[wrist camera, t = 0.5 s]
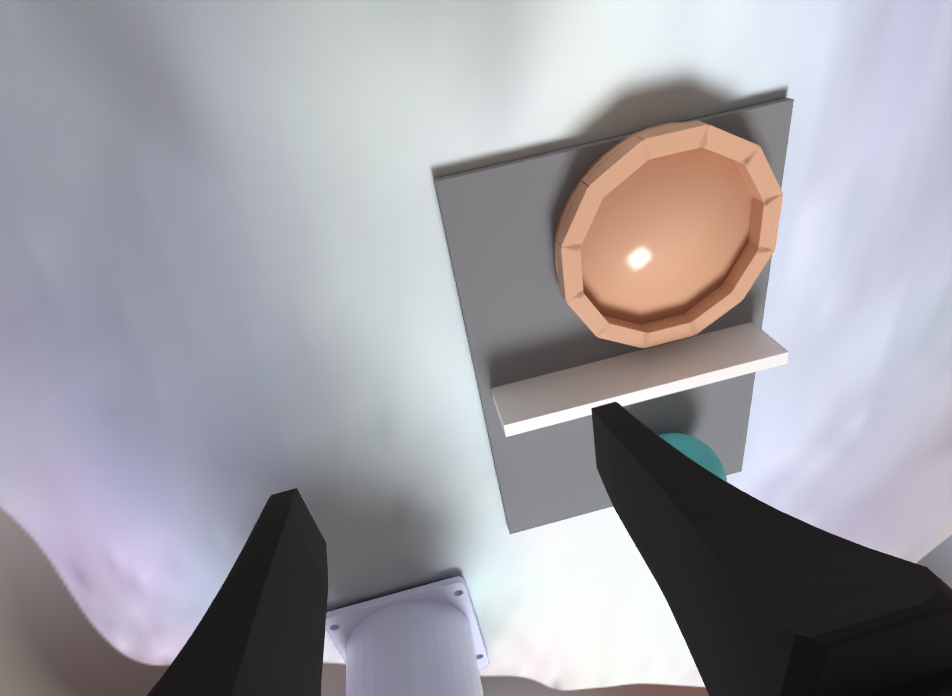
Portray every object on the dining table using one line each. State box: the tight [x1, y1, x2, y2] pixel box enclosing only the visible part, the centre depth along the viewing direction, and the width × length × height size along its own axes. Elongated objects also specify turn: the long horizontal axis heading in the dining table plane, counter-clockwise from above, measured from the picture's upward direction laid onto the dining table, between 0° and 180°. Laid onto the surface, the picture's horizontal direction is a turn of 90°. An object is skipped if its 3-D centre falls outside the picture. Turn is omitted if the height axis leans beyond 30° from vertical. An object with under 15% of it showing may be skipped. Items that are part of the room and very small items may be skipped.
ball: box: [659, 433, 727, 482], centre depth 26 cm, size 4×4×4 cm
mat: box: [434, 98, 794, 534], centre depth 25 cm, size 19×13×1 cm
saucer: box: [553, 120, 783, 348], centre depth 21 cm, size 8×8×1 cm
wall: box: [491, 322, 789, 437], centre depth 24 cm, size 1×12×2 cm, turn 99°
